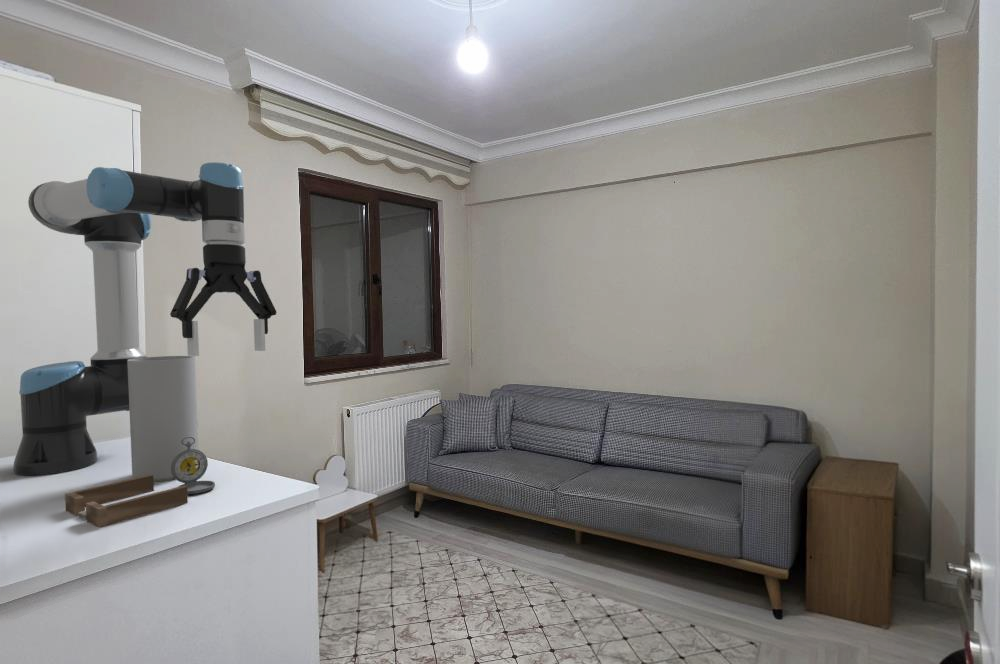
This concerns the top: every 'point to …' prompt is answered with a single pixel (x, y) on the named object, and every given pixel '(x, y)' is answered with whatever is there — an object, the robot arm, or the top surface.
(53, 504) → the top surface
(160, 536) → the top surface
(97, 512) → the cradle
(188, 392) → the cylinder vase
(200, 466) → the pocket watch
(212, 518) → the top surface
